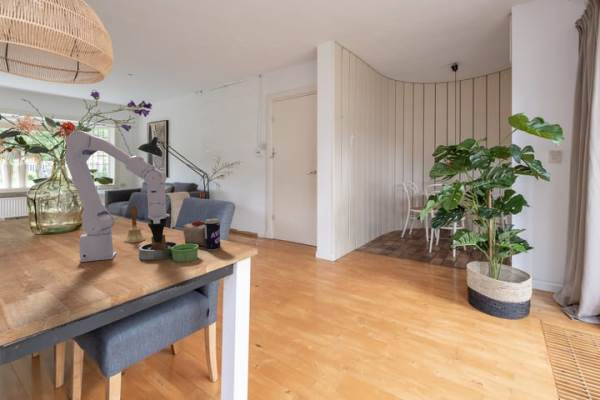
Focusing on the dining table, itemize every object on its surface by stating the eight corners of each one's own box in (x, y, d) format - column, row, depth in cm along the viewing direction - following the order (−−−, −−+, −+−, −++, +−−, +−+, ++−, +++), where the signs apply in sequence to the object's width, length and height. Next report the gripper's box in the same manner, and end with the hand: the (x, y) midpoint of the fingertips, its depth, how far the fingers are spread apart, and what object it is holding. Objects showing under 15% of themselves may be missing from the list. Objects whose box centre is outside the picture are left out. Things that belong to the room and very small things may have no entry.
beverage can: (211, 252, 111) (210, 221, 110) (202, 249, 114) (201, 219, 113) (223, 249, 116) (222, 219, 114) (214, 246, 119) (213, 217, 118)
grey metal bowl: (137, 262, 99) (136, 252, 99) (141, 252, 111) (140, 243, 110) (179, 257, 104) (178, 248, 104) (178, 248, 116) (178, 240, 116)
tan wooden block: (152, 254, 106) (151, 236, 105) (152, 253, 107) (151, 235, 107) (166, 252, 107) (165, 235, 107) (166, 251, 109) (165, 234, 108)
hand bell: (136, 237, 135) (133, 203, 133) (149, 239, 132) (147, 204, 130) (119, 242, 127) (117, 205, 125) (133, 243, 124) (131, 206, 123)
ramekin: (178, 264, 97) (178, 251, 96) (167, 259, 103) (166, 247, 103) (203, 258, 104) (203, 246, 103) (191, 253, 110) (190, 242, 109)
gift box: (180, 244, 124) (179, 221, 123) (195, 240, 131) (194, 218, 130) (204, 248, 117) (203, 224, 116) (218, 243, 124) (217, 220, 123)
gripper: (168, 204, 100) (170, 243, 102) (169, 200, 114) (170, 234, 115) (145, 205, 98) (147, 245, 99) (148, 201, 111) (150, 236, 112)
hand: (158, 239), depth 107 cm, fingers open, 7 cm apart
